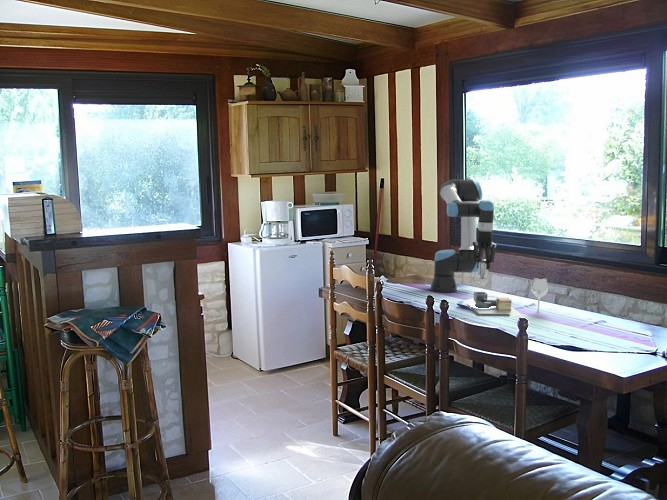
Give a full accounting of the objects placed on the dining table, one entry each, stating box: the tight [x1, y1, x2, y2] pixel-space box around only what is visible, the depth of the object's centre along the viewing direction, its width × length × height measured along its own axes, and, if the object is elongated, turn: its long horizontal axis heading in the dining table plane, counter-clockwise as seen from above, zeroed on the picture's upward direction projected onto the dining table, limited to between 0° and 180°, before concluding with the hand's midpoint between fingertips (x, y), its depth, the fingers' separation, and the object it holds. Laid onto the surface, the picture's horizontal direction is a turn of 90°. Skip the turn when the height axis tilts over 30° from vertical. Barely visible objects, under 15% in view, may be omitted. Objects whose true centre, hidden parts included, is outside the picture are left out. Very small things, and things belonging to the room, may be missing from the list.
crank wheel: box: [473, 291, 496, 308], centre depth 361 cm, size 14×18×6 cm
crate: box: [495, 297, 512, 312], centre depth 353 cm, size 6×6×6 cm
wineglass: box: [530, 276, 549, 314], centre depth 350 cm, size 8×8×18 cm
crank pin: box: [479, 258, 487, 280], centre depth 363 cm, size 3×3×10 cm
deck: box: [468, 305, 525, 318], centre depth 354 cm, size 29×23×1 cm
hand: (483, 274), depth 363 cm, fingers closed on crank pin, 3 cm apart
